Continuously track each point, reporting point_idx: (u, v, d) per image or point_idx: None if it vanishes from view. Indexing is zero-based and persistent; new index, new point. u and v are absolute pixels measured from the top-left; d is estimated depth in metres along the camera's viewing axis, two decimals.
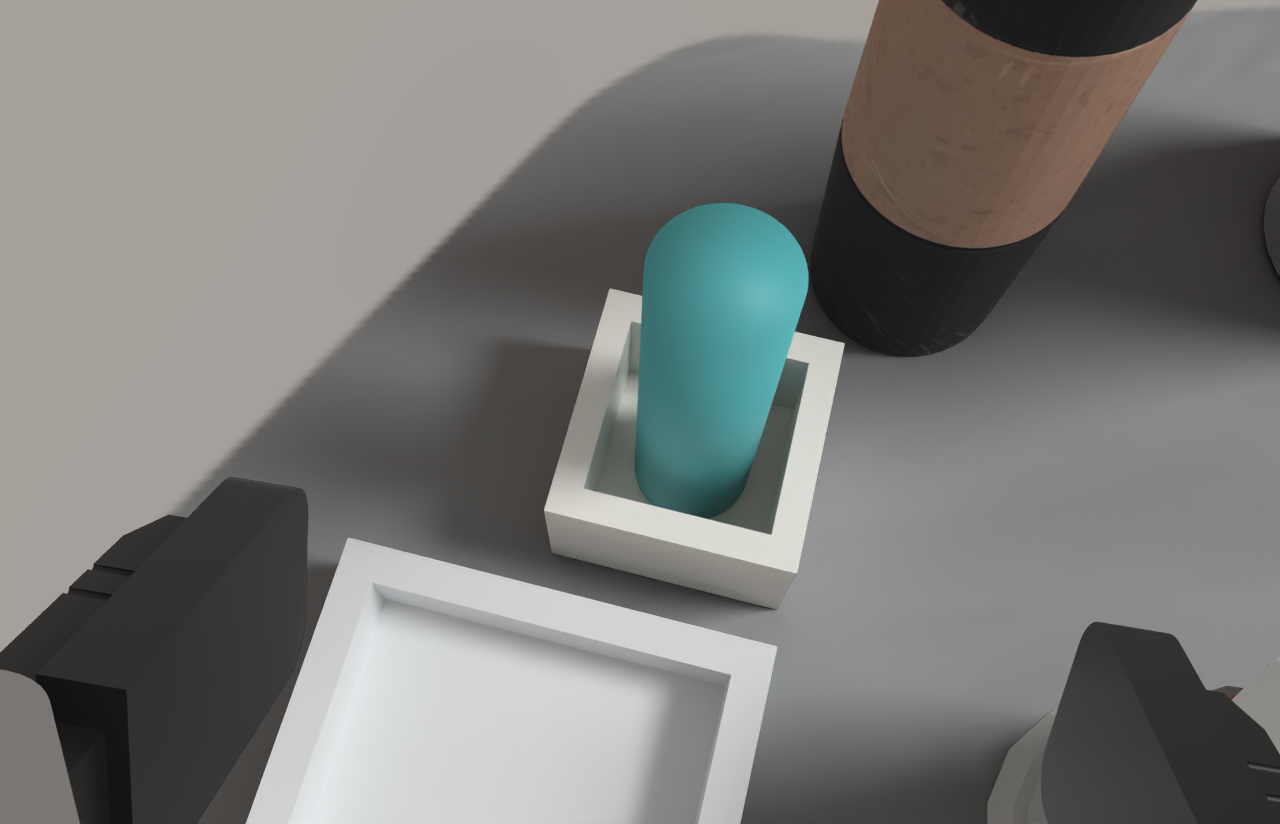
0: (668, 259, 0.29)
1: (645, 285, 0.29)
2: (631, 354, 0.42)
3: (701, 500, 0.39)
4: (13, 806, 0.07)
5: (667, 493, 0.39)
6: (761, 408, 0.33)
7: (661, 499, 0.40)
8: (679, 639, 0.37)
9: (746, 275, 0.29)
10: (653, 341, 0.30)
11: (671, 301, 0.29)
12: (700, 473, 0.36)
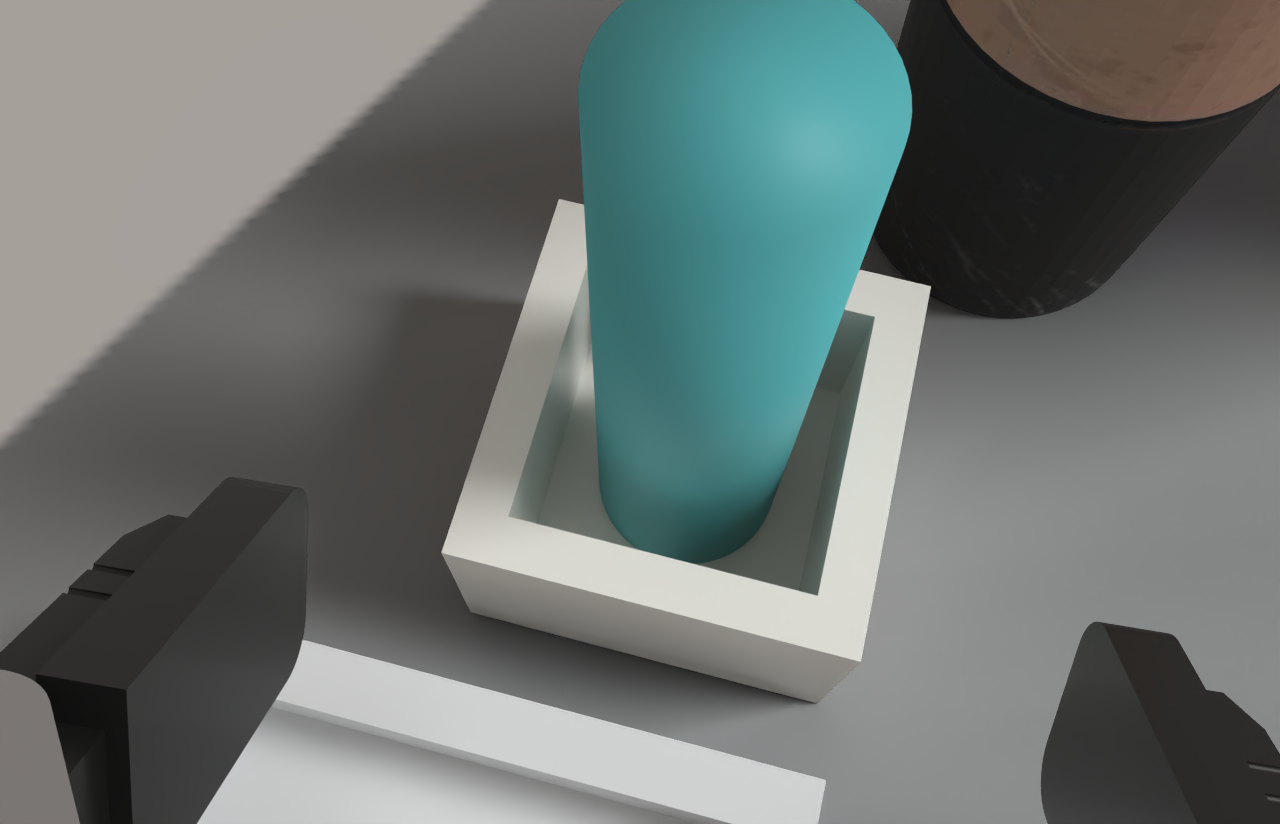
0: (628, 65, 0.14)
1: (581, 114, 0.14)
2: None
3: (701, 535, 0.24)
4: (12, 806, 0.07)
5: (645, 523, 0.25)
6: (805, 377, 0.18)
7: (638, 531, 0.25)
8: (665, 766, 0.22)
9: (785, 96, 0.14)
10: (602, 238, 0.15)
11: (633, 145, 0.14)
12: (697, 491, 0.22)
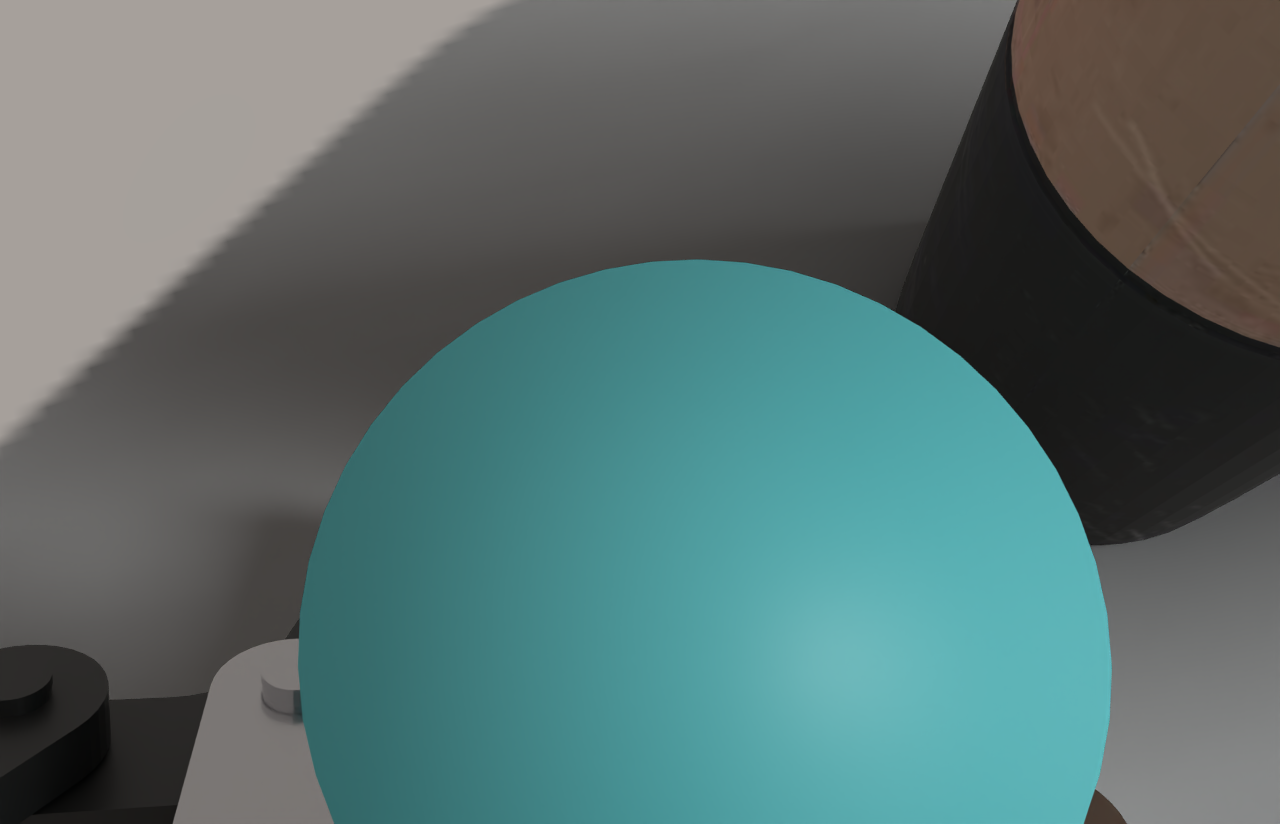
0: (430, 534, 0.06)
1: (303, 675, 0.06)
2: None
3: None
4: None
5: None
6: None
7: None
8: None
9: (803, 618, 0.06)
10: None
11: (425, 768, 0.06)
12: None
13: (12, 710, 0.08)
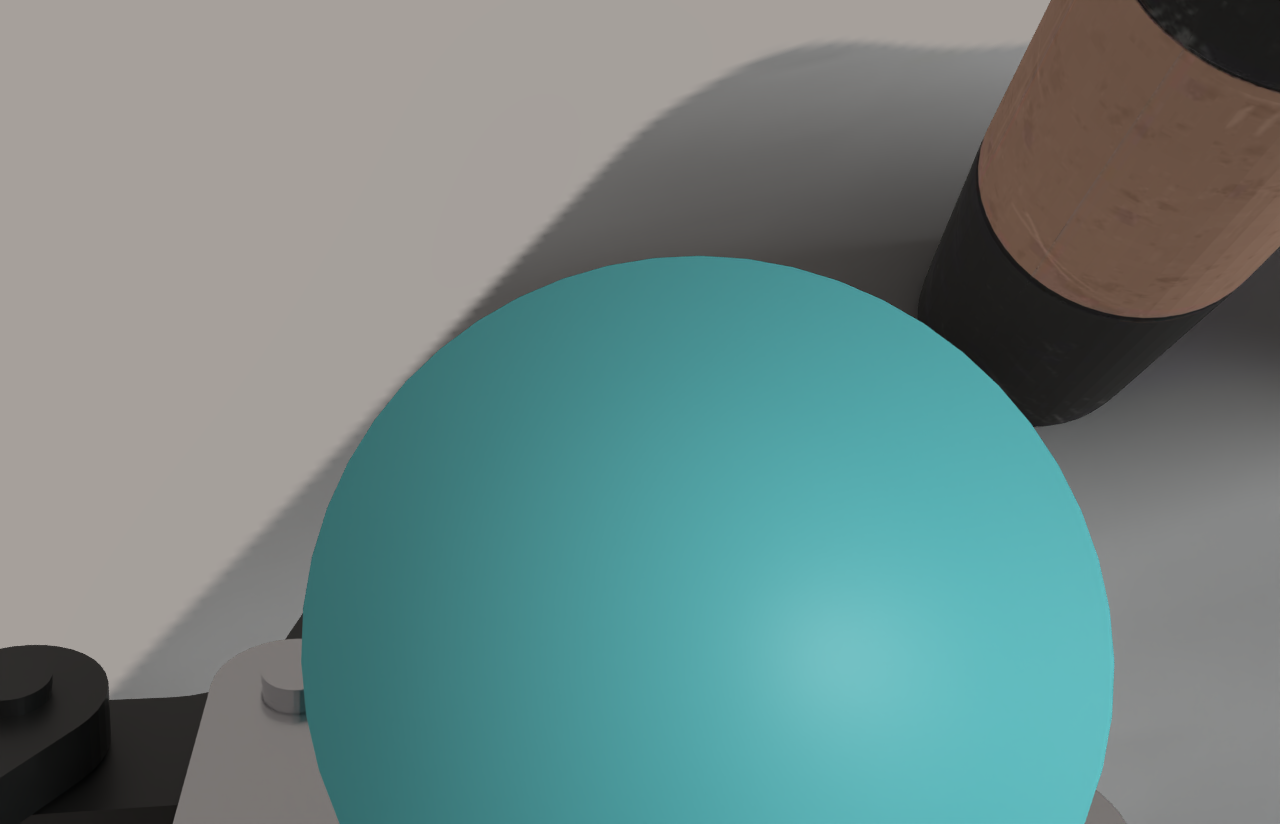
0: (432, 528, 0.06)
1: (306, 670, 0.06)
2: None
3: None
4: None
5: None
6: None
7: None
8: None
9: (807, 616, 0.06)
10: None
11: (428, 763, 0.06)
12: None
13: (12, 710, 0.08)
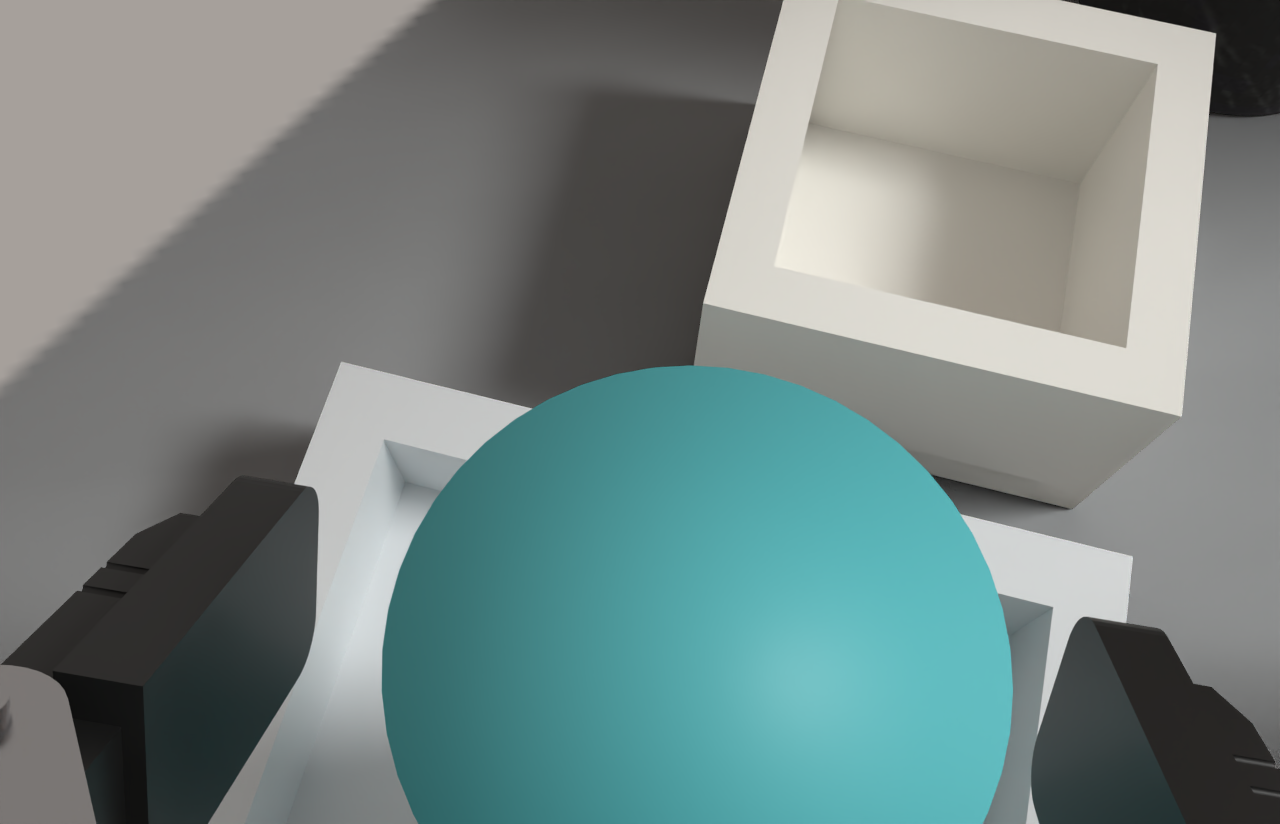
0: (480, 586, 0.08)
1: (385, 698, 0.07)
2: (819, 83, 0.25)
3: None
4: (33, 801, 0.07)
5: None
6: None
7: None
8: None
9: (773, 652, 0.08)
10: None
11: (482, 770, 0.07)
12: None
13: None
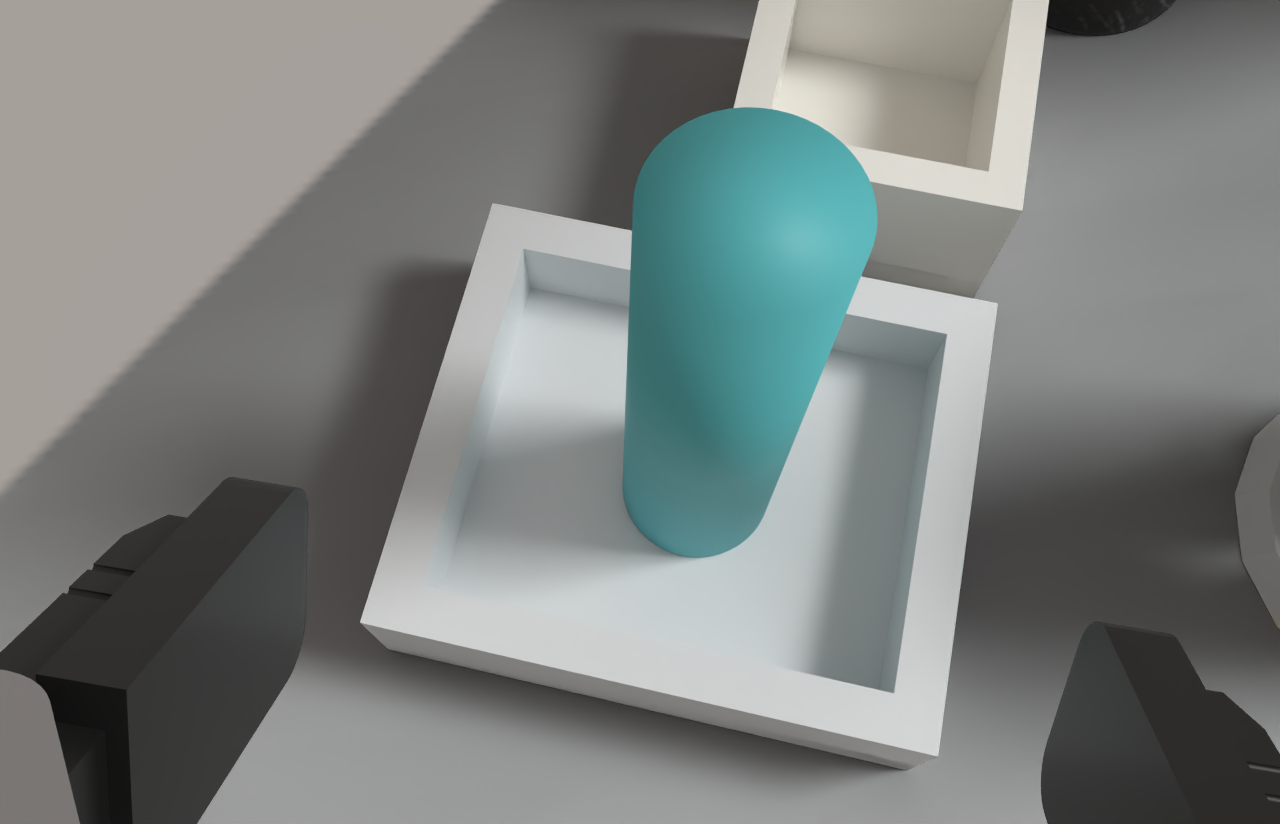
0: (668, 189, 0.20)
1: (636, 228, 0.19)
2: (795, 19, 0.37)
3: (713, 532, 0.30)
4: (12, 805, 0.07)
5: (667, 524, 0.30)
6: (800, 407, 0.24)
7: (659, 531, 0.31)
8: (884, 298, 0.32)
9: (784, 209, 0.20)
10: (649, 313, 0.21)
11: (676, 250, 0.19)
12: (712, 497, 0.27)
13: None
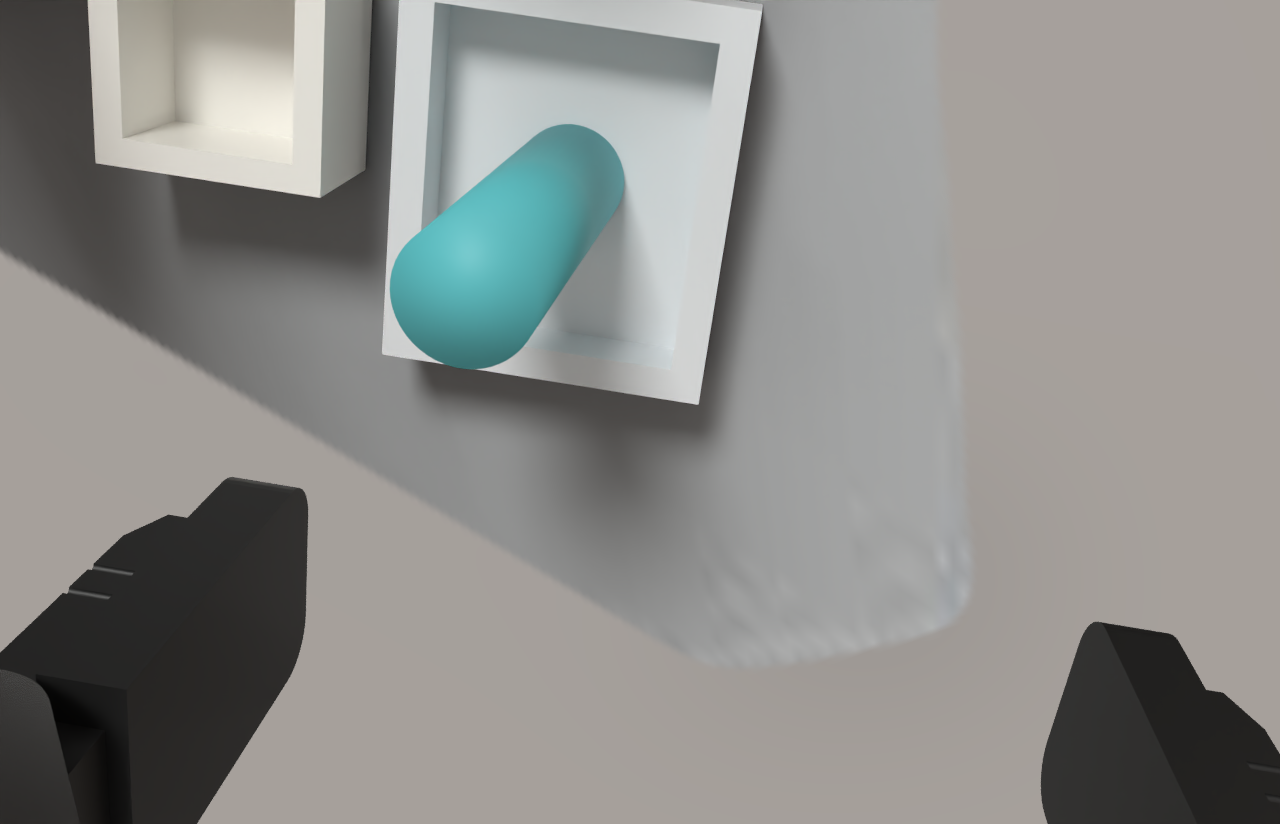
0: (462, 349, 0.32)
1: (492, 365, 0.32)
2: (158, 125, 0.43)
3: (611, 179, 0.41)
4: (12, 806, 0.07)
5: (611, 213, 0.42)
6: (547, 192, 0.35)
7: (613, 211, 0.43)
8: (411, 54, 0.40)
9: (460, 279, 0.31)
10: None
11: (502, 342, 0.31)
12: (599, 206, 0.39)
13: None
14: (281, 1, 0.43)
